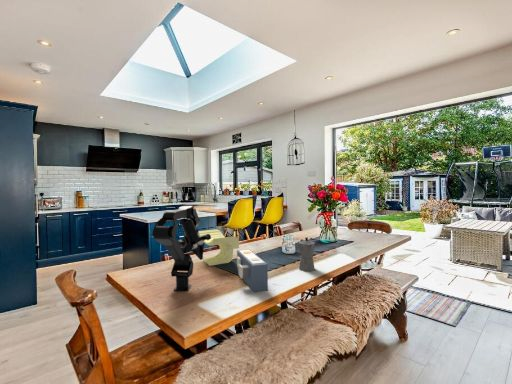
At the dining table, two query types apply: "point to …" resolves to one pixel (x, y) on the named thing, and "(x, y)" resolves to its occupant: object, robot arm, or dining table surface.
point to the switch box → (254, 270)
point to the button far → (239, 261)
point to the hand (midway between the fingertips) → (201, 259)
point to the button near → (243, 270)
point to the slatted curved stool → (225, 246)
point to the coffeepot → (306, 255)
